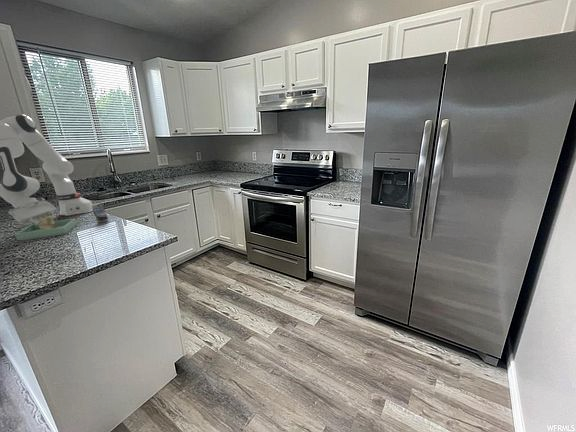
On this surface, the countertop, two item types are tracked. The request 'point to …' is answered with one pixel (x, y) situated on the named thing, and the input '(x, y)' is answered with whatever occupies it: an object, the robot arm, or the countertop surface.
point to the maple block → (46, 223)
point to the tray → (35, 232)
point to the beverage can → (99, 212)
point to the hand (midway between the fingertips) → (46, 221)
